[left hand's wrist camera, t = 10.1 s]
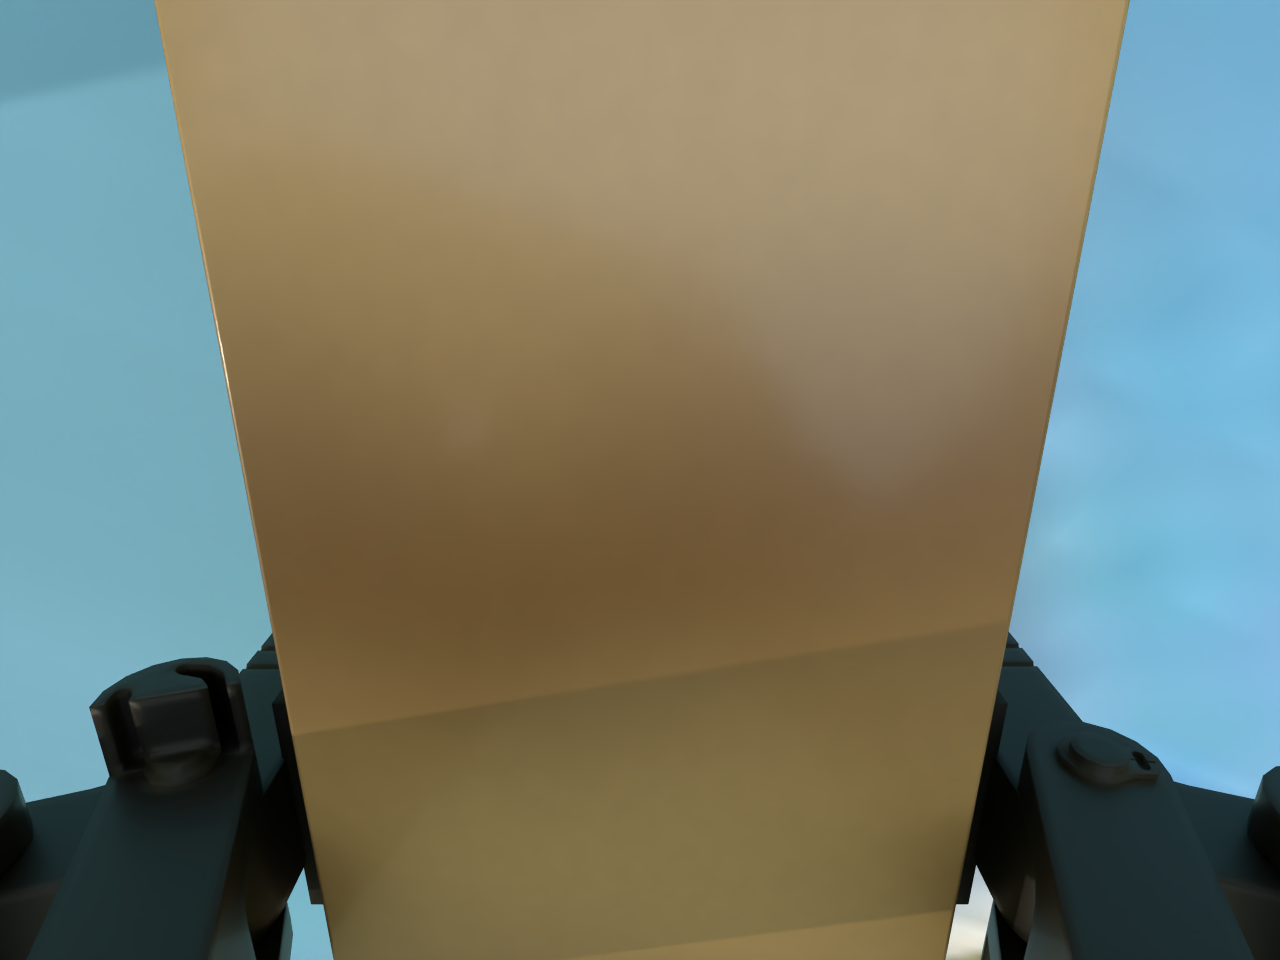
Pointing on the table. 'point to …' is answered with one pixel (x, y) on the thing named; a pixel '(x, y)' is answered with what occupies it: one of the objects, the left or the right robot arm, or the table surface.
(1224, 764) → the table surface
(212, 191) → the bar
